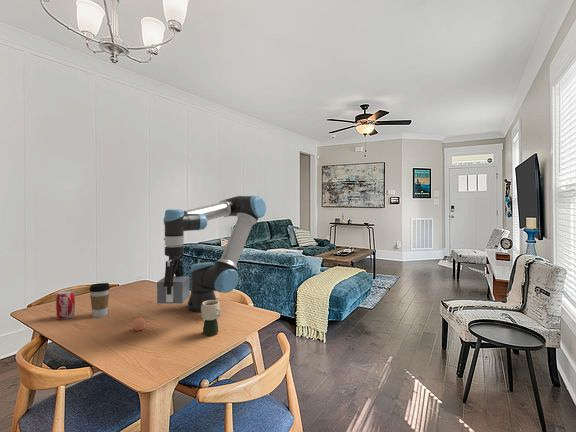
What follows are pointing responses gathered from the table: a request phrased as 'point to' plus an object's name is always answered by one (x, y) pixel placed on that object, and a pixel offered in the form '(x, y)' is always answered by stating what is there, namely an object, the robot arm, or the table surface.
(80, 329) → the table surface
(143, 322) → the ball
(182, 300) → the grey cubic block
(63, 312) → the soda can
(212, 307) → the character mug
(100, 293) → the coffee cup
